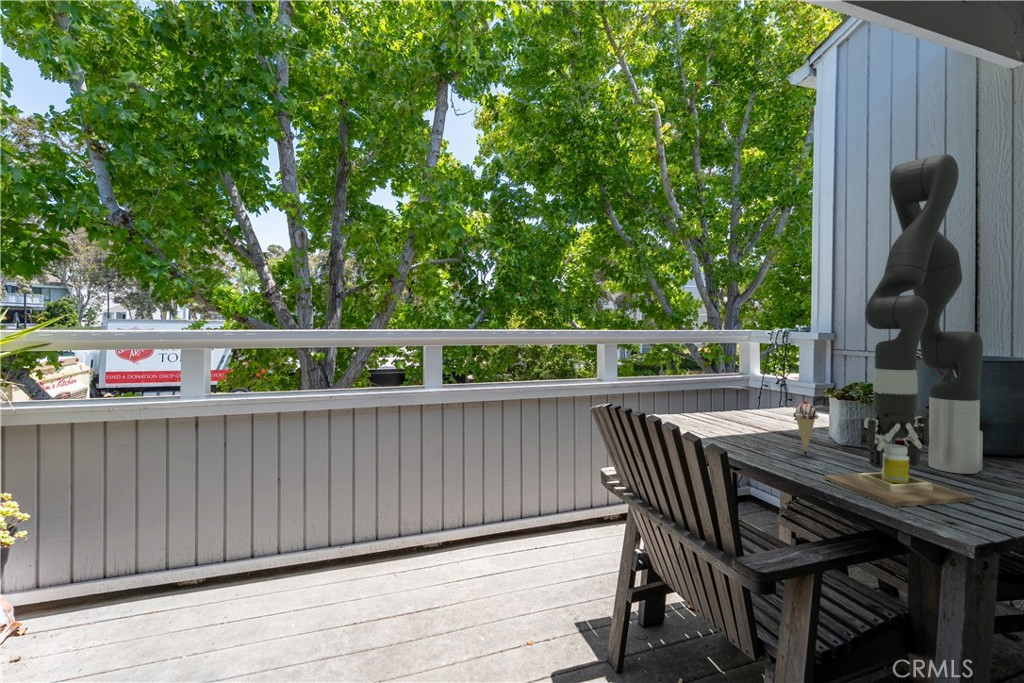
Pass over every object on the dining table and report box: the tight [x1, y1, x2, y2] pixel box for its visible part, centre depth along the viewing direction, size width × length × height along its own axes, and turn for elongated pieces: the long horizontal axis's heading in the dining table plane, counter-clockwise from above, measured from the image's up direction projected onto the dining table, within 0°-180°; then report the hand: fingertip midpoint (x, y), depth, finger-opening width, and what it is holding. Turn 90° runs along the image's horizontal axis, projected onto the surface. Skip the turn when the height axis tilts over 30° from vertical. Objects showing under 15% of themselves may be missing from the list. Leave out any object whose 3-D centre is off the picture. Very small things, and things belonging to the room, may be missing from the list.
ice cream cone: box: [793, 400, 819, 457], centre depth 136 cm, size 6×6×15 cm
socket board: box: [824, 471, 976, 508], centre depth 109 cm, size 18×18×2 cm
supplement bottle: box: [881, 443, 910, 484], centre depth 108 cm, size 5×5×8 cm
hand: (894, 466), depth 108 cm, fingers open, 8 cm apart
